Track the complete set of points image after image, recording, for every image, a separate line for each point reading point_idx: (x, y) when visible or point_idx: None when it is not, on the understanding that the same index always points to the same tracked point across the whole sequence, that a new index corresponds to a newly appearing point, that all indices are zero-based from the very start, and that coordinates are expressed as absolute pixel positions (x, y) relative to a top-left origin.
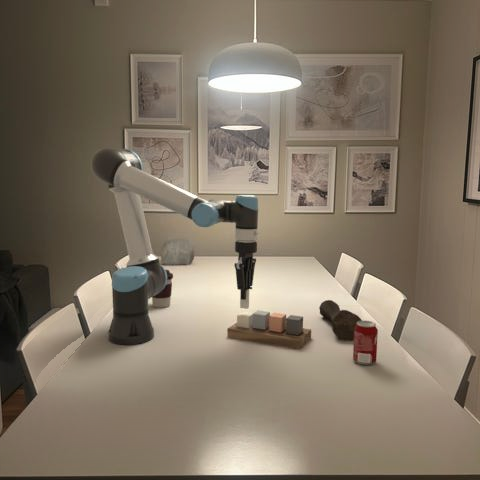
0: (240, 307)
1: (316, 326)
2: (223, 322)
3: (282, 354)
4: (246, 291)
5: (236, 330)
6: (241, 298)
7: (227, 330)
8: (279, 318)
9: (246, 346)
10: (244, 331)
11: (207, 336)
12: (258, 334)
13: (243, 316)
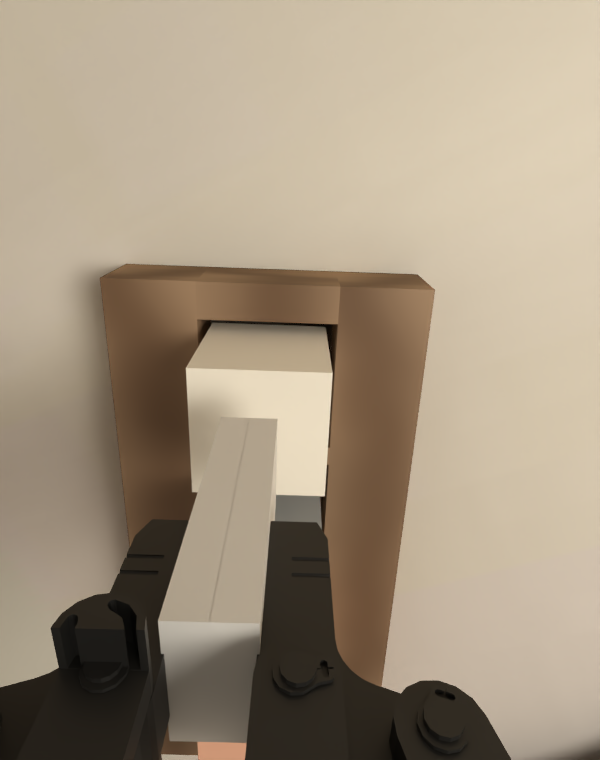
0: (220, 424)
1: (583, 689)
2: (494, 30)
3: (47, 656)
4: (172, 702)
5: (112, 365)
6: (140, 542)
7: (107, 274)
8: (199, 745)
9: (34, 462)
10: (118, 435)
11: (40, 84)
12: (130, 535)
13: (191, 436)
